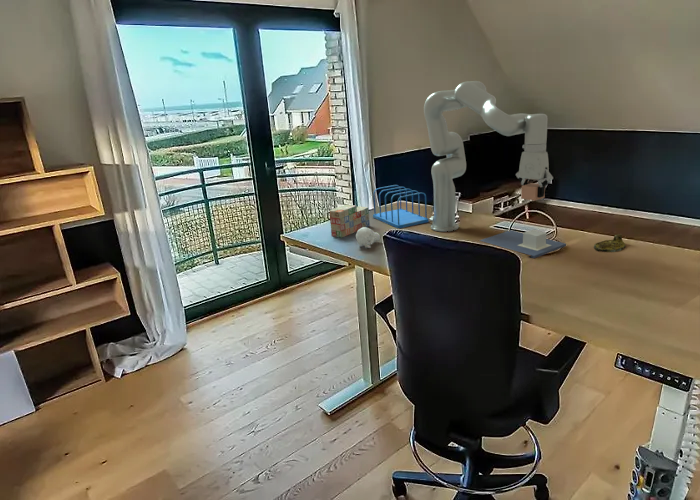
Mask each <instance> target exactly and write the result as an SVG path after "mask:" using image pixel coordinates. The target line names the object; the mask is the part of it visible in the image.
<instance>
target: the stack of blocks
mask: <svg viewBox="0 0 700 500" xmlns="http://www.w3.org/2000/svg"><path fill="white" fill-rule="evenodd" d="M369 211H370V210H369V207H368V206H360V205H358V206H357V205H355V204H354V205H353V204H343V205H341V206H338V207H335V208H334V209H330V210H329V220H330V221H329V223H330V233H331V237H337V238H344V237H347V236H349V235H352V234H353V233H357V231H358V230H359V229H361V228H363V227H366V228H369V227H370V225H371V224H370V212H369Z"/></svg>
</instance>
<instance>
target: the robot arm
mask: <svg viewBox="0 0 700 500" xmlns="http://www.w3.org/2000/svg"><path fill="white" fill-rule="evenodd" d="M496 104H497V99H496V97H495V96H494V94H491V93H489V92H488V91H487V86H486V85H485V84H484V83H483V82H482V81H479V80H473V81H471V80H469V81H463V82H460V83H459V84H458V85H457V86H456V87H455V89H449V90H439V91H435V92H433V93H431V94H430V95H429V96H427V98H426V100H425V102H424V105H423V116H424V119H425V122H426V123H425V124H426V126H427V127H426V128H427V132H428V133H427V134H428V139H429V145H430V150H431V152H432V155H434V156H436V157H443V156H446V157H445V158H440V159H438V160H436V161H435V162H434V163H433V164H432V166H431V170H430V171H431V178H432V184H433V185H432V186H433V215H431V216H430V218H428V219H429V222H432V224H431V225H430V229H431V230H432V231H435V232H441V233H442V232H443V233H445V232H447V231H448V232H453V230H454V231H457V230H458V229H459V223H457V222H456V187H455V183H454V181H453V179H456V178H459V177H462V176H463V175H464V174H465V173H466V171H467V161H466V159H467V158H466V154H465V153H466V152H465V147H464V142H463V141H464V140H463V138H462V137H461V135H460V134H459V133H458V132H455V131H449V129H448V122H447V120H446V119H447V118H446V117H445V116H444V115H443V113H444V112H450V111H451V112H452V111H457V110H460V109H463V108H466V107H467V108H468V109H470V110H471V111H474V113H476V114H478V115H480V117H481V118H482V120H483V122H485V124H486V125H487V127H489V128H490V129H492V130H493V131H495V132H497V133H499V134H500V135H502V136H506V137H512V136H515V135H521V134H524V144H522V149H523V150H524V151H522V152H521V156H520V161H519V168H518V171H517V172H516V173H515V176H516V178H517V179H518V181H519V183H520V185H521V187H522V186H523V185H527V184H529V181H530V180H531V181H532V180H533V181H537V182H538V183H537V184H539V187H538V195H537V197H538V198H540V197H543V196H544V192H546V186H547V185H548V184H549V183H550V182H551V181H552V180H554V176H553V175H552V174H551V172H550V171H549V169H550V168H549V165H550V164H549V154H548V151H547V138H548V117H549V116H548V115H547V114H545V113H532V114H530V113H525V112H524V113H521V112H520V113H513V114H508V113H506V112H504V111H503V110H502V109H500V108H498V107H497V106H496Z"/></svg>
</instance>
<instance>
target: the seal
mask: <svg viewBox="0 0 700 500" xmlns="http://www.w3.org/2000/svg"><path fill="white" fill-rule="evenodd" d="M593 248H594V250H595V251H598V252H604V253H605V252H606V253H615V252H620V251H622V250H624V249H626V243H625V242H624V241H623V234H622V233H617V234H615V235H613V239H606V240H603V241H598V242H595V244H594V246H593Z"/></svg>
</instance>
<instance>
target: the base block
mask: <svg viewBox="0 0 700 500" xmlns="http://www.w3.org/2000/svg"><path fill="white" fill-rule="evenodd" d="M522 233H523V245H524V246H528V247H531V248H535V249H536V248H539V247H542V246H545V245H546V239H547V234H548V233H547V232H545V231H540V230H536V229H531V230H528V231H525V232H522Z"/></svg>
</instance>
